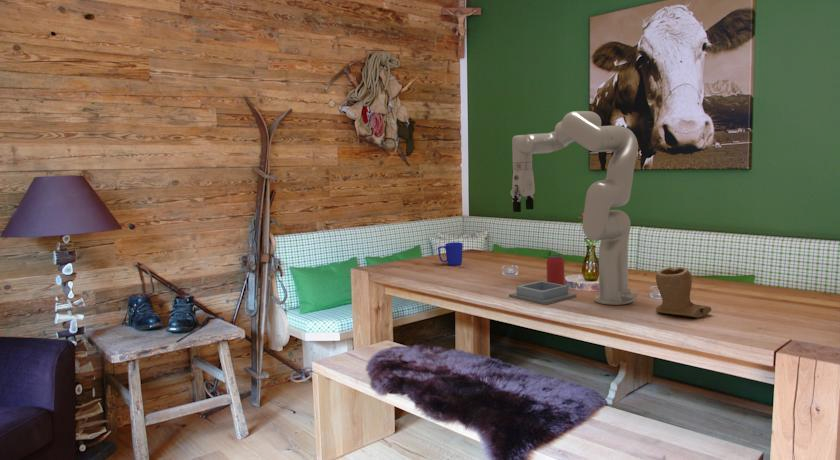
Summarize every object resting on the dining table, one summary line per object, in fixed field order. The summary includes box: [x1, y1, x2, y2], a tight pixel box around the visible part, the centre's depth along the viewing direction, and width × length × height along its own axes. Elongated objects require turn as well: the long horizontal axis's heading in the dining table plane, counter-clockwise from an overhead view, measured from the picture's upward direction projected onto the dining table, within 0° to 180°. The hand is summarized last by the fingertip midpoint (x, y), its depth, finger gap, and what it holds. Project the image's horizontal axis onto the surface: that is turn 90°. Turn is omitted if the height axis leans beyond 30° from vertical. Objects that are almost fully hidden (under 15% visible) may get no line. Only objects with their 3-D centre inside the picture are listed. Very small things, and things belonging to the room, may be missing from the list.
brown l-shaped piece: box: [655, 266, 712, 319], centre depth 206 cm, size 15×12×15 cm
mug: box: [437, 241, 464, 266], centre depth 311 cm, size 8×12×10 cm
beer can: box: [546, 254, 565, 285], centre depth 254 cm, size 7×7×12 cm
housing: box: [508, 280, 577, 306], centre depth 239 cm, size 18×16×4 cm
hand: (523, 210), depth 260 cm, fingers open, 9 cm apart
